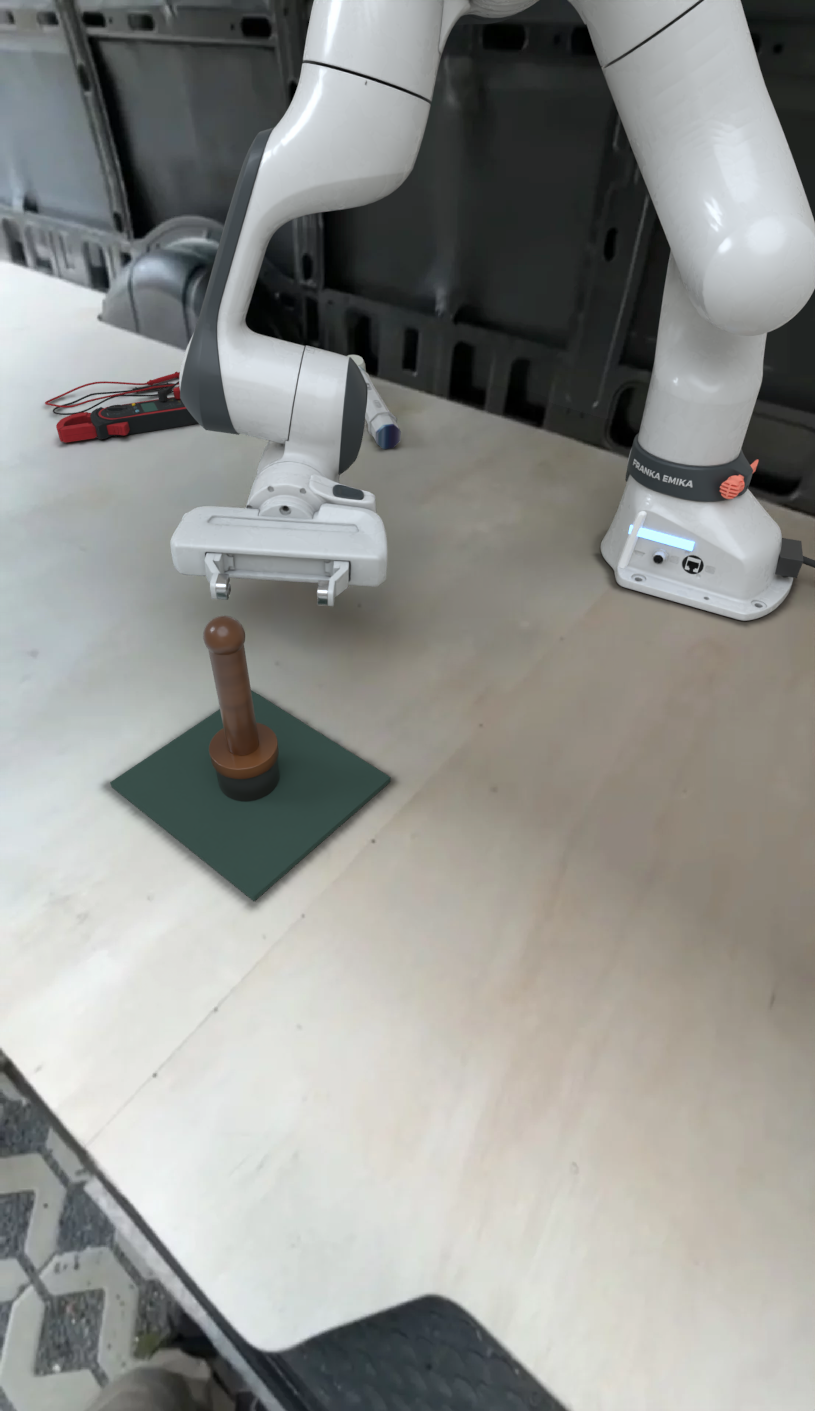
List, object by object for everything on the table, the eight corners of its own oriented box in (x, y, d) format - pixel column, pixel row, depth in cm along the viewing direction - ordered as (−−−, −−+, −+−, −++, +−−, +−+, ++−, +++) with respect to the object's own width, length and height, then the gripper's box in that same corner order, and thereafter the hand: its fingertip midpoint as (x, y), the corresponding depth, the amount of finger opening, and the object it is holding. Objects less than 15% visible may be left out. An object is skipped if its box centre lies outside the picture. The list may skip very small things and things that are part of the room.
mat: (390, 781, 69) (390, 777, 69) (254, 901, 60) (253, 897, 59) (250, 693, 77) (249, 688, 77) (111, 786, 68) (109, 782, 68)
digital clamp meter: (221, 395, 122) (51, 420, 114) (225, 424, 125) (59, 450, 117) (186, 347, 137) (33, 366, 129) (190, 374, 140) (41, 394, 132)
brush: (295, 776, 69) (276, 617, 57) (246, 814, 65) (216, 653, 54) (251, 746, 71) (225, 588, 60) (202, 781, 68) (165, 622, 57)
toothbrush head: (371, 425, 115) (334, 346, 131) (371, 465, 120) (334, 384, 136) (406, 422, 116) (364, 343, 132) (404, 462, 122) (364, 381, 137)
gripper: (182, 480, 78) (148, 559, 68) (390, 494, 78) (386, 574, 68) (190, 535, 82) (159, 617, 72) (387, 548, 83) (383, 631, 73)
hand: (272, 596), depth 70 cm, fingers open, 8 cm apart
